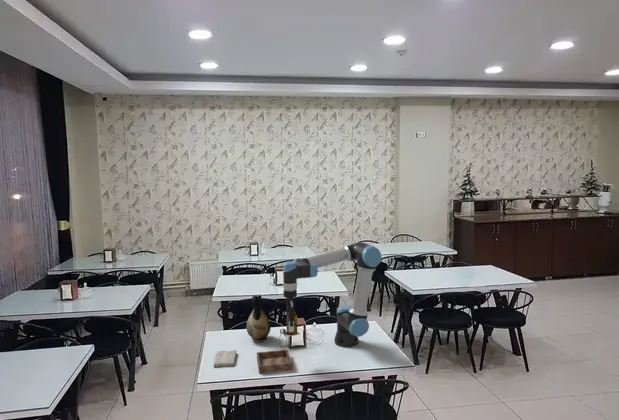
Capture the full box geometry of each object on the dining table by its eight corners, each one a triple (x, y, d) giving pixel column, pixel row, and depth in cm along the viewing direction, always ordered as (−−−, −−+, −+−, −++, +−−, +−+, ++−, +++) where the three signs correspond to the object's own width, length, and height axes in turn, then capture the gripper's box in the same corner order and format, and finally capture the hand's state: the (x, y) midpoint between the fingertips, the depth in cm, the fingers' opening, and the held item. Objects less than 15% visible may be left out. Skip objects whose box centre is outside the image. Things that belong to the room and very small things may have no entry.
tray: (287, 355, 259) (287, 349, 258) (292, 370, 241) (291, 363, 241) (256, 359, 255) (256, 352, 255) (259, 373, 238) (258, 366, 237)
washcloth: (236, 353, 265) (236, 348, 264) (235, 367, 247) (234, 361, 246) (216, 354, 263) (216, 349, 263) (213, 368, 246) (213, 363, 245)
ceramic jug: (250, 334, 293) (249, 290, 289) (273, 334, 290) (271, 290, 287) (243, 344, 276) (241, 298, 273) (267, 345, 274) (265, 299, 270)
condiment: (300, 334, 248) (300, 313, 246) (287, 337, 243) (287, 316, 242) (293, 330, 254) (293, 309, 252) (280, 333, 249) (280, 312, 248)
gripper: (281, 285, 254) (281, 323, 257) (285, 294, 236) (286, 336, 238) (294, 284, 256) (294, 322, 258) (299, 294, 237) (299, 335, 240)
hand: (290, 329), depth 248 cm, fingers closed on condiment, 6 cm apart
